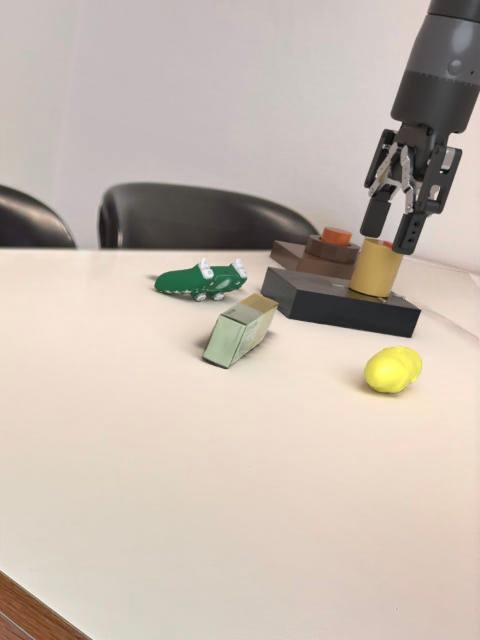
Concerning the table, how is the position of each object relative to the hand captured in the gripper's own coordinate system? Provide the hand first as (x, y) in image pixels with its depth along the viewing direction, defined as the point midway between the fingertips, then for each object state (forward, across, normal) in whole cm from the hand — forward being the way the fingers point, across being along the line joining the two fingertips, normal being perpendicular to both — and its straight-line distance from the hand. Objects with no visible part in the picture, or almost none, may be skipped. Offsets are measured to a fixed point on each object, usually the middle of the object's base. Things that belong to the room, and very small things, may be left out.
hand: (384, 244), depth 113 cm
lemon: (+8, -27, +8) cm, 29 cm away
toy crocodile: (+8, -2, +19) cm, 21 cm away
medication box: (+8, -22, +21) cm, 31 cm away
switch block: (+8, +24, -5) cm, 26 cm away
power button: (+4, +24, -5) cm, 25 cm away
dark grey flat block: (+8, 0, +3) cm, 8 cm away
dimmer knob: (+5, 0, 0) cm, 5 cm away
